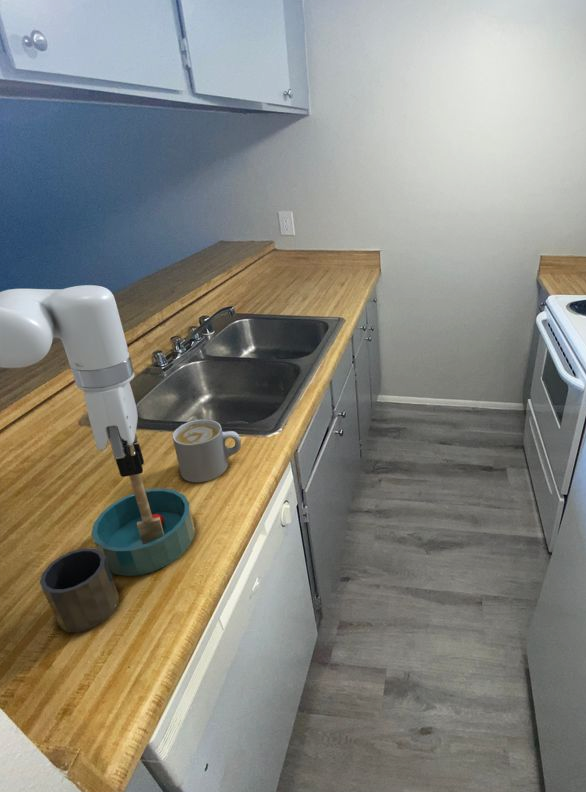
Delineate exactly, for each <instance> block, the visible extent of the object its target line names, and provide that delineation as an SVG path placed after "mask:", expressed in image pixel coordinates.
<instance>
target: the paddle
mask: <svg viewBox="0 0 586 792" xmlns="http://www.w3.org/2000/svg"><path fill="white" fill-rule="evenodd" d="M123 447H128V445H123ZM128 477H129V480H130V484H131V487H132V490H133V493H134V494H135V497H136V500H137V504H138V507H139V510H140V514H141V517H142V520H143V521H140V522H137V528H138V531H139V534H140V537H141V540H142V544H147V543H149V542H152V541H154V540H156V539H158V538H161V537H162V536H164V531H163V528H162V524H161V521H160V517H158V518H153V517H152V513H151V510H150V506H149V503H148V499H147V496H146V492H145V490H146V489H145V486H144V485H145V484H144V481H143V478H142V476H141V474H136V475H131V476H128Z"/></svg>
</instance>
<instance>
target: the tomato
mask: <svg viewBox="0 0 586 792" xmlns="http://www.w3.org/2000/svg"><path fill="white" fill-rule="evenodd" d="M152 517H153V518H158V517H160V521H161V524H162V527H163V525H164V522H165V521H164V517H163V516H162V515H160V514H154V515H152Z"/></svg>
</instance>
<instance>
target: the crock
mask: <svg viewBox="0 0 586 792" xmlns="http://www.w3.org/2000/svg"><path fill="white" fill-rule="evenodd" d="M39 584H40V587H41V590H42V591H43V593H44V596H45V598H46V600H47V602H48V604H49V606H50V608H51V610H52V613H53V614H54V617H55V619H56V621H57V623H58V625H59V626H60V628H61V629H62V630H63V631H65V632H67V633H82V632H87V631H89V630H91V629H93V628H95V627H97V626H99V625H101V624H102V623H103V622H105V621H106V620H107V619H108V618H109V617H111V615H112V614H113V613H114V612H115V610H116V609H117V607H118V604H119V601H120V600H119V598H120V595H119V592H118V588H117V586H116V584H115V580H114V578H113V576H112V572H110V570H109V567H108V564H107V561H106V559H105V556H104V555H103V553H102V552H101V551H99V550H97V548H94V547H93V548H91V547H90V548H89V547H84V548H79V549H74V550H71V551H69V552H67V553H64V554H62V555H61V556H58V557H57V558H56V559H54V560H53V561H52V562H51V563H49V564H48V566H47V567H46V568H45V570H43V572H42V573H41V576H40V579H39Z"/></svg>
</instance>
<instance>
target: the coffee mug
mask: <svg viewBox="0 0 586 792" xmlns="http://www.w3.org/2000/svg"><path fill="white" fill-rule="evenodd" d="M228 439H233V441H234V446H231V447H228V446H227V445H226V441H227V440H228ZM172 441H173V446H174V450H175V455H176V459H177V463H178V467H179V468H178V469H179V472H180V476H181V478H182V479H183V480H185V481H187V482H190V483H204V482H209V481H212V480H214V479H217V478H219V477H220V476H221V475H223V474H224V473H225V472H226V470H227V468H228V466H229V465H228V464H229V463H228V459H229V458H230V457H231V456H233V455H236V454H237V453H238V452H239V451H240V450H241V447H242V441H241V436H240V435H239V434H238V432H236V431H232V430H229V431H228V430H227V431H223V428H222V426H221V424H220V422H217V421H215V420H212V419H196V420H192V421H188V422H185V423H183V424H181V425H179V426H178V427H177V428H176V429H175V430H174V431H173V432H172Z"/></svg>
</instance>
